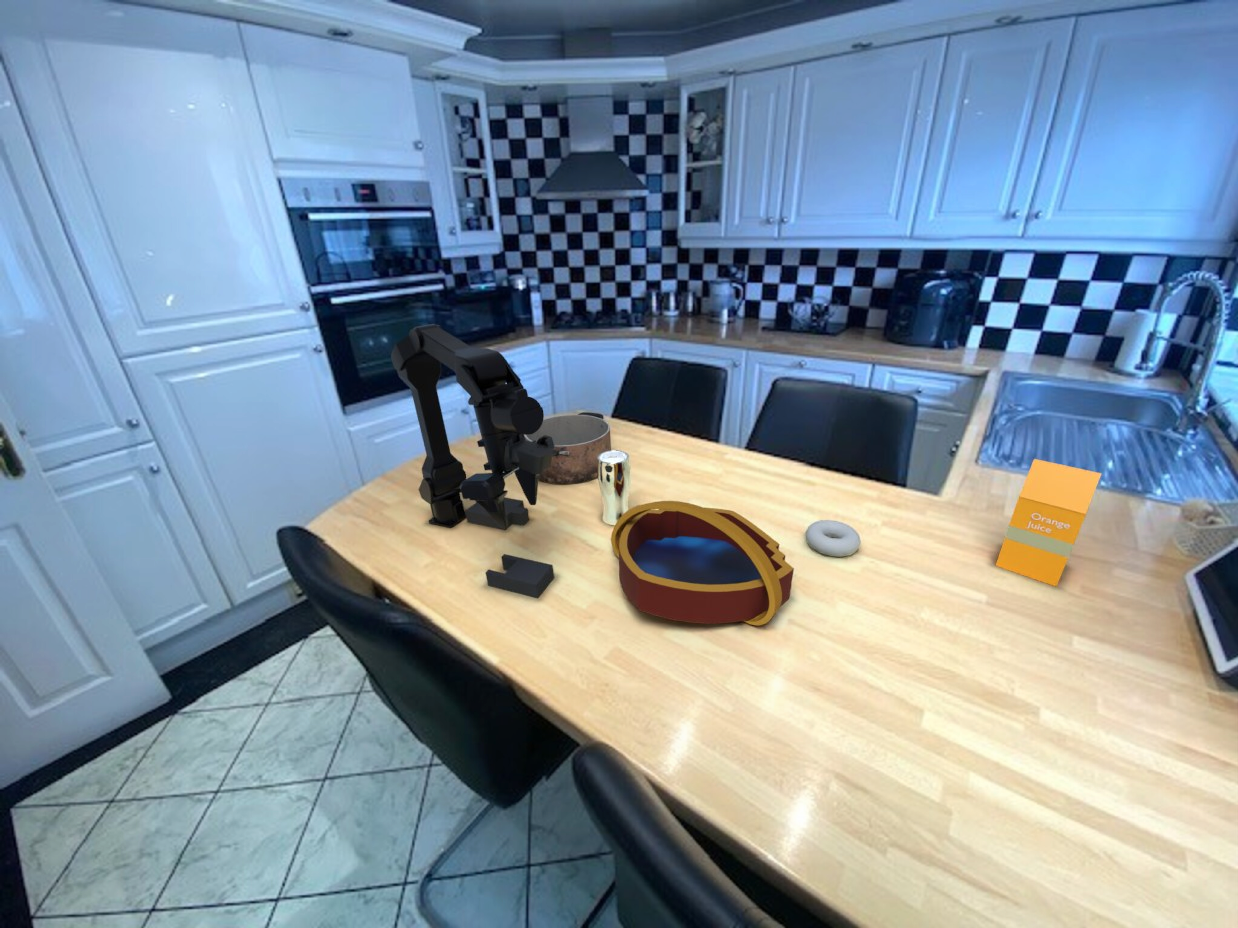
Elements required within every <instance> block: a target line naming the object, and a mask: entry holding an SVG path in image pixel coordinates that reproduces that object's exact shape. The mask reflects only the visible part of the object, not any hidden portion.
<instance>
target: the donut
mask: <svg viewBox="0 0 1238 928" xmlns="http://www.w3.org/2000/svg"><path fill="white" fill-rule="evenodd" d="M805 540H806V542H807V544H808V546H810V547H811V548H812V549H814V550H815V551H816V552H818V553H820V554H822V555H826V556H829V557H847V556H850V555H853V554H855V553H856V552H857V551H858V550H859V548H860V545H861V537H860V534H859V533H858V532H857V530H856V529H855V528H853V527H852V526H851V525H849V524H847V523H844V522H842V521H838V520H832V519H823V520H818V521H815V522H813V523H811V524H809V525H808V527H807V528H806V530H805Z"/></svg>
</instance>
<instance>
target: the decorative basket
mask: <svg viewBox="0 0 1238 928" xmlns="http://www.w3.org/2000/svg"><path fill="white" fill-rule="evenodd" d="M610 543H611V547H612V550H613V552H614V554H615V556H616V557H617V558H618V576H619V583H620V586H621V588H622V590H623V593H624V594H625V596H626V598H628V600H629V602H630V603H631V604H632V605H633V606H634V607H635V608H636V609H637V610H638V611H639V612H640V611H641V612H644V613H647V614H649V615H652V616H656V617H659V618H664V619H668V620H673V621H680V622H686V623H693V624H727V623H736V622H744V623H746V624H749V625H751V626H752V625H753V626H762V625H766V624H768V623H769V622H770V621H771V619H772V618H773V617H774V616H775V615H776V613H777V612H778V611H779V609H780V607H781V606H782V605H784V604H785V603H786V602H787V601H788V600H789V599H790V596H791V590H792V583H793V577H794V571H795V568H794V567H793V566H792V565H791V564H789V563H788V562H787V561H786V554H785V553H784V552H782V551H780V543H779V542H778V541H776V540H775V539H774V538H773V537H772V536H770V535H769V534H767V533H766V532H765V531H764V530H762V529H761V528H759V527H758V526H757V525H756V524H754V523H753V522H751V521H750V520H748V519H747V518H746V517H744V516H743V515H741V514H739V513H738V512H736V511H734V510H731V509H725V508H724V509H723V508H716V507H715V508H714V507H705V506H701V505H697V504H693V503H690V502H684V501H680V500H679V501H678V500H677V501H676V500H659V501H652V502H648V503H643V504H639V505H636V506H633V507H632V508H629V510H628V511H627V512H625V513H624V514H623V515H622V516H621V517H620V519H619V520H618V521H617V523H616V524H615V525H614V527H613V529H612V531H611V537H610Z"/></svg>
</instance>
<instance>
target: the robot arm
mask: <svg viewBox="0 0 1238 928" xmlns="http://www.w3.org/2000/svg"><path fill="white" fill-rule="evenodd" d="M390 359H391V363H392V365H393V367H394V370H396V372H397V375H398V377H399V378H400V380H401V381H403V383H404V384H406V386H407V387H409V388H410V393H411V396H412V401H413V405H414V409H415V412H416V417H417V421H418V425H419V430H420V433H421V434H420V435H421V437H422V441H423V446H424V451H425V454H426V456H425V458H424V461H423V464H422V467H421V473H422V480H421V483H420V485H419V488H418V493H419V495H420V498H421V500H423V501H424V502H426V503H427V504H429V505H430V510H431V515H432V517H431V518H430V519H429V520H428V524H430V525H436V526H441V527H446V528H449V529H450V528H453V527H455V526H456V525H457V524H458V523H460V522H461V521H463V520H464V519H465V518H466V513H465V511H466V510H465V506H464V502H463V500H469V501H472V502H473V501H475V503H476V502H477V503H478V504H479V505H480V506H481V507H482V508H484V509H485V510H486V511H487V513H488V514H489V515H490V516H491V517H492V518H493V519H494V520H495V521H496V522H497V523H498V525H499V526H500V527H501V528H507V527H508V523H507V516H506V511H505V506H504V500H503V499H504V497H505V498H506V496H507V494H508V491H509V490H507V489H506V488H505V487H506V481H505V479H506V478H508V477H509V476H511V475H513V474H514V475H515V477H516V479H517V481H518V484H519V486H520V487H521V490H522V492H523V494H524V496H525V498H526V500H527V502H528V504H529V505H530V506H536V505H537V500H538V498H537V497H538V488H539V481H540V480H539V474H541V473H543V471H544V470H545V469H547V468H550V467H551V462H552V456H554V455H555V454H556V450H555V446H554V443H553V440H552V437H550V436H547V435H544V436H542V437H540V438H539V439H538V441H537V442H536V441H535V440H533V441H532V442H530V441H526V440H525V436H524V435H530V434H533V433H535V432H536V431H538V429H539V428H540V427H541V425H542V423H543V419H545V418H544V417H545V416H544V415H545V414H544V408H543V407H542V406H541V403H540V402H539V401H538V400H537V399H535V398H534V397H532V396H529V394H528V391H527V389H526V388H525V387H524V385H523V384H522V382H521V379H522V378H520V377H519V375H517V373H516V372H515V371H514V369H513V368H512V366H511V364H509V362H508V361H507V359H506V357H504V355H503V354H502V353H501V352H499V351H497V350H494V349H490V348H486V347H473V346H470V345H469V344H467V343H465V342H464V341H462V340H461V339H459V338H457V337H456V336H454V335H452V334H451V333H449V332H447V331H446V330H444V329H443V326H441V325H440V324H437V323H431V324H430V323H429V324H424V325H419V326H414V327H413V328H411V329H410V330H409V333H408V335H406V336H405V337H403V338H402V339H400V340H399V341H398V342H397V343H395V344H394V347H393V348H392V351H391V353H390ZM442 364H443V365H445V366H446V367H447V368H449V369H450V370H452V371H453V372H454V373H455V379H456V383H457V384H459V385H460V387H461V388H462V389H463V391H465V392H466V394H468V396H470V397H469V398H468V400H467V404H468V405H469V406H473V410H474V414H475V418H476V421H477V425H478V428H479V433H480V436H481V438H480V439H479V440H477V441H476V442H477V446H478V447H477V448H484V452H485V456H486V460H487V462H485V463H484V464H483V469H484V471H491V472H484V473H483V472H481V473H474V474H473V475H471V476H469V477H467V474H466V473H467V472H466V471H465V470H464V465H463V463H462V462H461V461H460V460H459V459H458V458H456V457H455V456H454V455H453V454H452V451H451V449H450V444H449V443H450V442H449V439H448V435H447V431H446V430H447V429H446V426H445V420H444V417H443V412H442V408H441V402H440V397H439V393H438V390H437V389H438V387H437V386H438V382H439V380H440V377H441V374H442ZM462 499H463V500H462ZM508 528H509V527H508ZM508 528H507V529H508Z"/></svg>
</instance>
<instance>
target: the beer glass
mask: <svg viewBox="0 0 1238 928" xmlns="http://www.w3.org/2000/svg"><path fill="white" fill-rule="evenodd" d="M631 477H632V475H631V461H630V455H629V453H628V452H626V451H624V450H619V449H618V450H617V449H613V450H612V449H611V451H605V452H603V453H601V454H599V455H598V478H597V482H598V486H599V490H600V495H601V498H602V503H603V504H602V505H603V511H602V521H603V523H605V524H607V525H609V526H615V524H616V523H617V521H618V520H619V519H620V517H621V516H622V515H623V514H624V513H625V512H627V511H628V510H630V508H629V494H630V488H631V481H632V478H631Z"/></svg>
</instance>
